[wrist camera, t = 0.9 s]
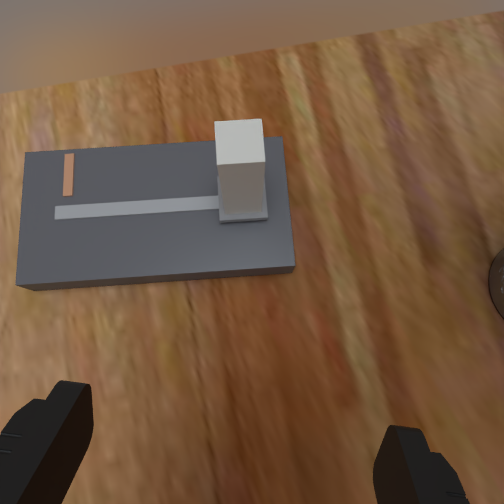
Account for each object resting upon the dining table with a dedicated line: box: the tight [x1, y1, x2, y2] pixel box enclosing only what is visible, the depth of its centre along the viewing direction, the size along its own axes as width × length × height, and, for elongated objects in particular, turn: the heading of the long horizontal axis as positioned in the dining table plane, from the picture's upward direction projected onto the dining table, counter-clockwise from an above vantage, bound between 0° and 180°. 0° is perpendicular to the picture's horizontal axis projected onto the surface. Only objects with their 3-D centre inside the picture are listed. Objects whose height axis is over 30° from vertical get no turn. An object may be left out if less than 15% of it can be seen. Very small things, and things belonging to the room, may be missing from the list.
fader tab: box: [215, 119, 268, 223], centre depth 30 cm, size 4×4×10 cm
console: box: [16, 136, 295, 291], centre depth 37 cm, size 23×12×3 cm, turn 94°
